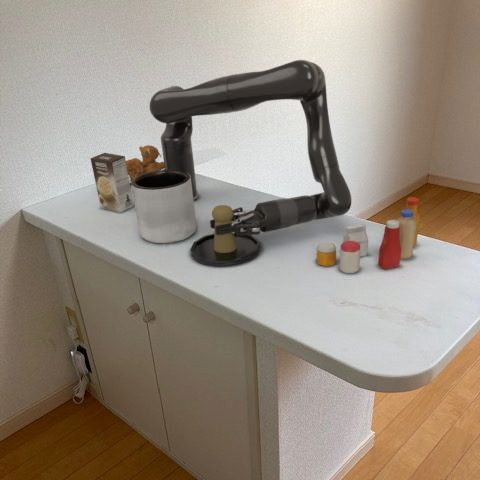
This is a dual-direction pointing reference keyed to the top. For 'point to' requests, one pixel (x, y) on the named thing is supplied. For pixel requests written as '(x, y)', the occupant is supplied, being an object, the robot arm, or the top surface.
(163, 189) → the planter
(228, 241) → the cork
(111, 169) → the coffee box
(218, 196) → the top surface
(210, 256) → the metal plate
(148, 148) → the stuffed squirrel
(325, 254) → the toy food
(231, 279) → the top surface
